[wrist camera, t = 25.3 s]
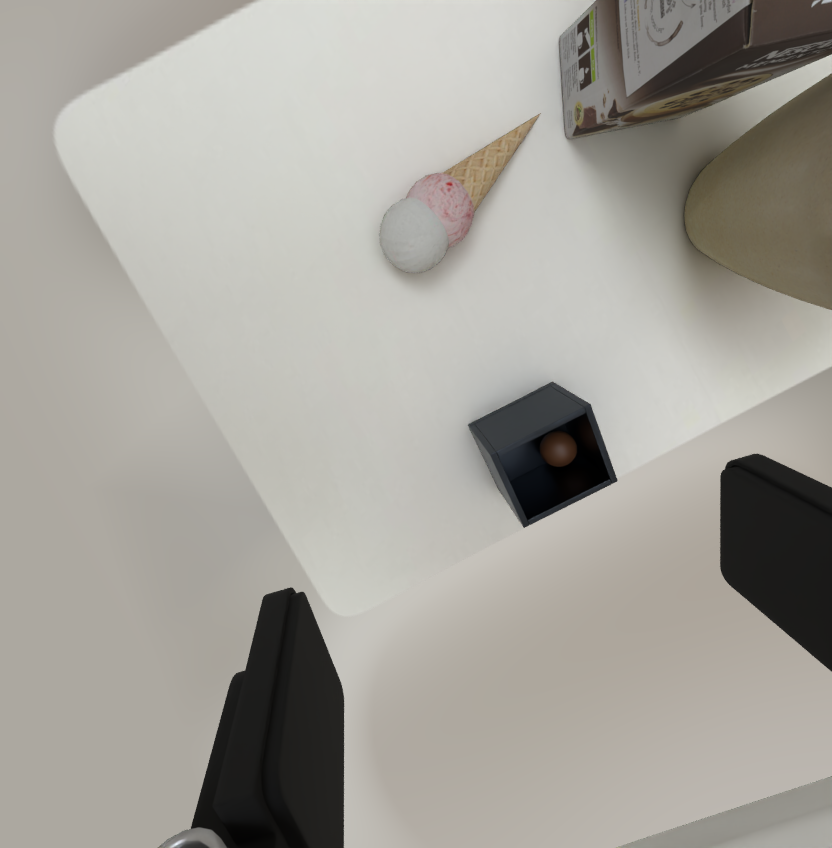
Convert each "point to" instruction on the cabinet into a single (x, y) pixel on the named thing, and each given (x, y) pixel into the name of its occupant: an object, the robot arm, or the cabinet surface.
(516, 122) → the cabinet surface
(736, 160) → the plant pot
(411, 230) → the ice cream cone
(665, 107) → the coffee box
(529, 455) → the waste bin
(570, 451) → the ball
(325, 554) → the cabinet surface
